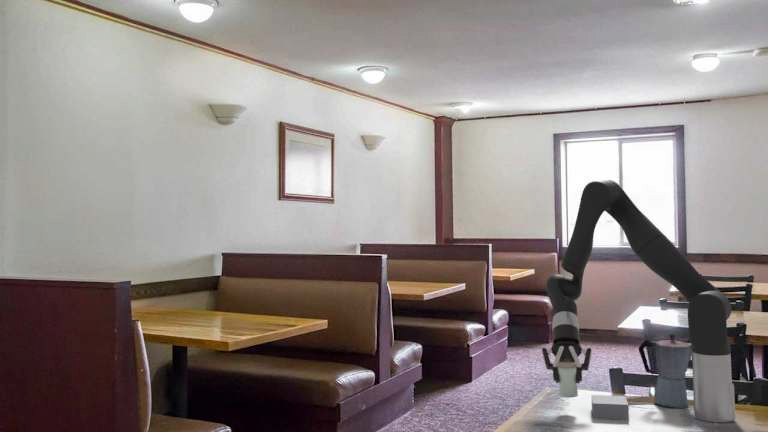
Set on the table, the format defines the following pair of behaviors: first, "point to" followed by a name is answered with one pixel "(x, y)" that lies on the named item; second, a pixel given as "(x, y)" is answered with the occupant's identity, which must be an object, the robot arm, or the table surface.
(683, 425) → the table surface
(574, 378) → the canister
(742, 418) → the table surface
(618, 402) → the stand
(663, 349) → the moka pot
